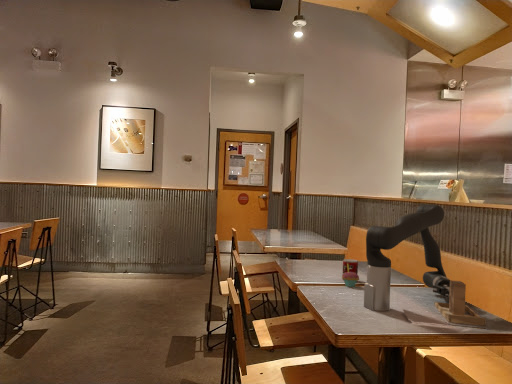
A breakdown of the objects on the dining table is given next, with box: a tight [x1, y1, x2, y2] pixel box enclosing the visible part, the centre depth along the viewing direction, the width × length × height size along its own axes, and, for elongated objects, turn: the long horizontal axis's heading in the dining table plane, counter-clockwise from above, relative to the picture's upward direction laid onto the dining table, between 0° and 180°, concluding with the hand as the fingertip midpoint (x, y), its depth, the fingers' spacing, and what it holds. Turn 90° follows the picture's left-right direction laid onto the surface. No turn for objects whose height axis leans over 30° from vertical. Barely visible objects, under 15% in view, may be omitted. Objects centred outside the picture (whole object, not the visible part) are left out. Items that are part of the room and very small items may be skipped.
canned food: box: [342, 258, 359, 281], centre depth 210 cm, size 8×8×11 cm
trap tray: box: [434, 301, 487, 330], centre depth 148 cm, size 22×12×4 cm, turn 167°
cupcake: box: [341, 263, 360, 288], centre depth 196 cm, size 9×8×12 cm
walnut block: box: [448, 279, 467, 316], centre depth 150 cm, size 6×4×12 cm, turn 167°
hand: (454, 295), depth 153 cm, fingers closed
